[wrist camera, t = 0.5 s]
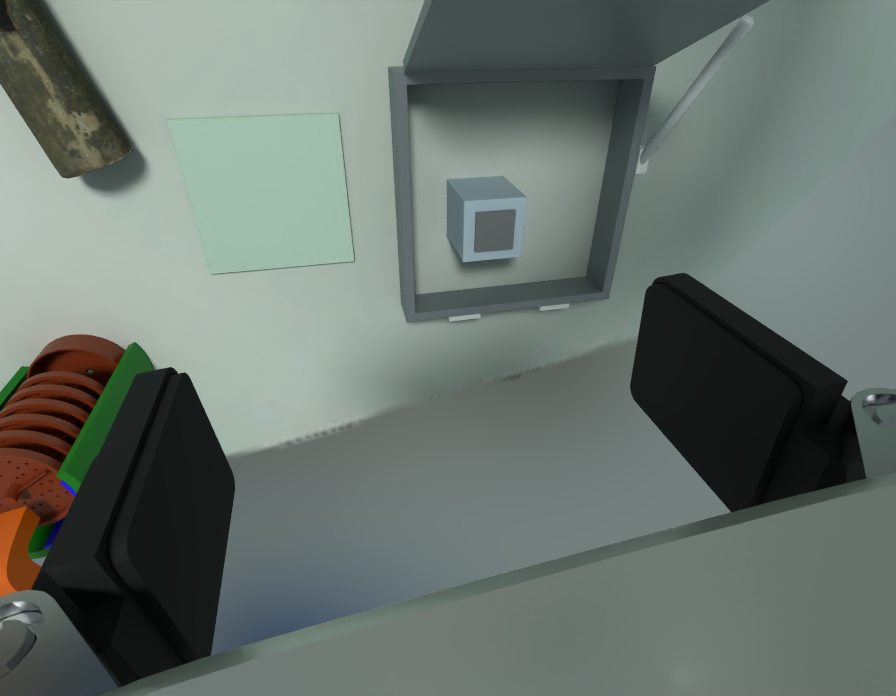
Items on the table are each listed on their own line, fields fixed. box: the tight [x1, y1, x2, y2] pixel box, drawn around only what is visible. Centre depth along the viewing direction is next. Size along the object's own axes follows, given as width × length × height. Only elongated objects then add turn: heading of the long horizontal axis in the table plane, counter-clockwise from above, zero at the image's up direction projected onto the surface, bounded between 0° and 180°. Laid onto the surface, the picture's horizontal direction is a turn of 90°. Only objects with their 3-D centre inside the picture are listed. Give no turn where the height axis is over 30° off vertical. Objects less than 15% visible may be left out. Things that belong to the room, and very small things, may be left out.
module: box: [447, 176, 527, 262], centre depth 42 cm, size 5×5×6 cm
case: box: [388, 15, 754, 322], centre depth 40 cm, size 24×21×12 cm
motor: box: [0, 335, 153, 597], centre depth 38 cm, size 10×9×20 cm
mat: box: [166, 113, 354, 274], centre depth 40 cm, size 12×12×1 cm
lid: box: [403, 0, 769, 72], centre depth 28 cm, size 17×19×1 cm
